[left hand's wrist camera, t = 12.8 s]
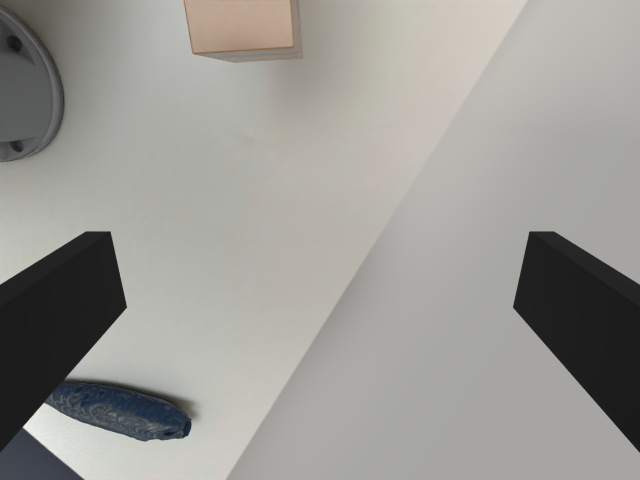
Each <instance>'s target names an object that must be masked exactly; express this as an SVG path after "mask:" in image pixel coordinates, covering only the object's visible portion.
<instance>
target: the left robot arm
mask: <svg viewBox="0 0 640 480" xmlns="http://www.w3.org/2000/svg"><path fill="white" fill-rule="evenodd" d="M62 113H63V92H62V86H61V81H60V78H59V75H58V72H57V69H56V67H55V64H54V62H53V60H52V58H51V56H50V54H49V53H48V51H47V49H46V48H45V46H44V45H43V43H42V42H41V41H40V39H39V38H38V37H37V36H36V34H35V33H34V32H33V31H32V30H31V29H30V28H29V27H28V26H27V25H26V24H25V23H24V22H23V21H22V20H20V19H19V18H18V17H17V16H15V15H14V14H13V13H11V12H10V11H8V10H7V9H5V8H3V7H1V6H0V162H8V161H13V160H17V159H21V158H25V157H28V156H31V155H33V154H35V153H37V152H39V151H40V150H42V149H43V148H44V147H45V146H46V145H47V144H48V143H49V142H50V141H51V140H52V139H53V137H54V136H55V134H56V132H57V130H58V128H59V126H60V122H61V119H62ZM126 308H127V305H126V301H125V296H124V291H123V287H122V282H121V278H120V273H119V268H118V264H117V259H116V255H115V250H114V245H113V241H112V236H111V232H84V233H83V234H81V235H80V236H78V237H76V238H75V239H73V240H72V241H70V242H68V243H67V244H65V245H63V246H62V247H60V248H59V249H57V250H55V251H54V252H52V253H51V254H49V255H47V256H46V257H44V258H42V259H41V260H39V261H38V262H36V263H34V264H33V265H31V266H30V267H28V268H26V269H25V270H23V271H22V272H20V273H18V274H17V275H15V276H13V277H12V278H10V279H9V280H7V281H5V282H4V283H2V284H1V285H0V452H1V451H2V450H3V449H4V448H5V447H6V445H7V444H8V443H9V442H10V441H11V440H12V439H13V437H14V436H15V435H16V434H17V433H18V432H19V430H20V429H21V428H22V427H23V426H24V425H25V424H26V423H27V421H28V420H29V419H30V418H31V417H32V416H33V415H34V413H35V412H36V411H37V410H38V409H39V408H40V406H41V405H42V404H43V403H44V402H45V401H46V400H47V398H48V397H49V396H50V395H51V394H52V393H53V392H54V390H55V389H56V388H57V387H58V386H59V385H60V384H61V382H62V381H63V380H64V379H65V378H66V377H67V376H68V374H69V373H70V372H71V371H72V370H73V369H74V368H75V366H76V365H77V364H78V363H79V362H80V361H81V360H82V358H83V357H84V356H85V355H86V354H87V353H88V352H89V350H90V349H91V348H92V347H93V346H94V345H95V344H96V342H97V341H98V340H99V339H100V338H101V337H102V335H103V334H104V333H105V332H106V331H107V330H108V329H109V327H110V326H111V325H112V324H113V323H114V322H115V321H116V319H117V318H118V317H119V316H120V315H121V314H122V313H123V311H124V310H125V309H126ZM513 308H514V309H515V310H516V311H517V313H518V314H519V315H520V316H521V317H522V318H523V319H524V321H525V322H526V323H527V324H528V325H529V326H530V327H531V329H532V330H533V331H534V332H535V333H536V334H537V335H538V337H539V338H540V339H541V340H542V341H543V342H544V344H545V345H546V346H547V347H548V348H549V349H550V350H551V352H552V353H553V354H554V355H555V356H556V357H557V358H558V360H559V361H560V362H561V363H562V364H563V365H564V366H565V368H566V369H567V370H568V371H569V372H570V373H571V374H572V376H573V377H574V378H575V379H576V380H577V381H578V382H579V384H580V385H581V386H582V387H583V388H584V389H585V390H586V392H587V393H588V394H589V395H590V396H591V397H592V398H593V400H594V401H595V402H596V403H597V404H598V405H599V406H600V408H601V409H602V410H603V411H604V412H605V413H606V415H607V416H608V417H609V418H610V419H611V420H612V421H613V422H614V424H615V425H616V426H617V427H618V428H619V429H620V431H621V432H622V433H623V434H624V435H625V436H626V437H627V439H628V440H629V441H630V442H631V443H632V444H633V445H634V447H635V448H636V449H637V450H638V451H639V452H640V285H639V284H638V283H636V282H635V281H633V280H631V279H630V278H628V277H627V276H625V275H623V274H622V273H620V272H618V271H617V270H615V269H614V268H612V267H610V266H609V265H607V264H606V263H604V262H602V261H601V260H599V259H598V258H596V257H594V256H593V255H591V254H589V253H588V252H586V251H585V250H583V249H581V248H580V247H578V246H577V245H575V244H573V243H572V242H570V241H568V240H567V239H565V238H564V237H562V236H560V235H559V234H557V233H556V232H529V236H528V241H527V245H526V250H525V255H524V259H523V264H522V269H521V273H520V278H519V282H518V287H517V291H516V296H515V301H514V305H513Z"/></svg>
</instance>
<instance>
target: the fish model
mask: <svg viewBox="0 0 640 480" xmlns="http://www.w3.org/2000/svg"><path fill="white" fill-rule="evenodd" d="M44 403H46V404H48V405H50V406H51V407H53V408H55V409H56V410H58V411H59V412H61V413H63V414H65V415H67V416H69V417H71V418H73V419H76V420H78V421H80V422H83V423H86V424H90V425H92V426H96V427H99V428H103V429H105V430H109V431H112V432H116V433H119V434H124V435H126V436H129V437H132V438H135V439H137V440H141V441H148V440H153V439H160V440H169V439H174V438H177V439H180V438H184V437H185V436H188V434H189V432H190V430H191V419H190V418H189V417H188V416H187V414H186V413H185V412H184V411H183V410H181V409H179V408H177V407H175V406H174V405H173V404H171V403H170V402H168V401H165V400H163V399H160V398H156V397H153V396H149V395H147V394H142V393H139V392H136V391H132V390H128V389H122V388H118V387H112V386H106V385H98V384H87V383H76V384H73V383H61V384H60V385H59V386H58V387H57V388H56V389H55V390H54V392H53V393H52V394H51V395H50V396H49V397H48V398H47V400H46V401H45V402H44Z"/></svg>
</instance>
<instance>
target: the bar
mask: <svg viewBox="0 0 640 480" xmlns="http://www.w3.org/2000/svg"><path fill="white" fill-rule="evenodd" d="M184 5H185V11H186V17H187V23H188V29H189V35H190V41H191V47H192V53H193V54H195V55H200V56H205V57H210V58H214V59H219V60H224V61H229V62H250V61H266V60H281V59H297V58H302V44H301V29H300V14H299V0H184Z"/></svg>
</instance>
